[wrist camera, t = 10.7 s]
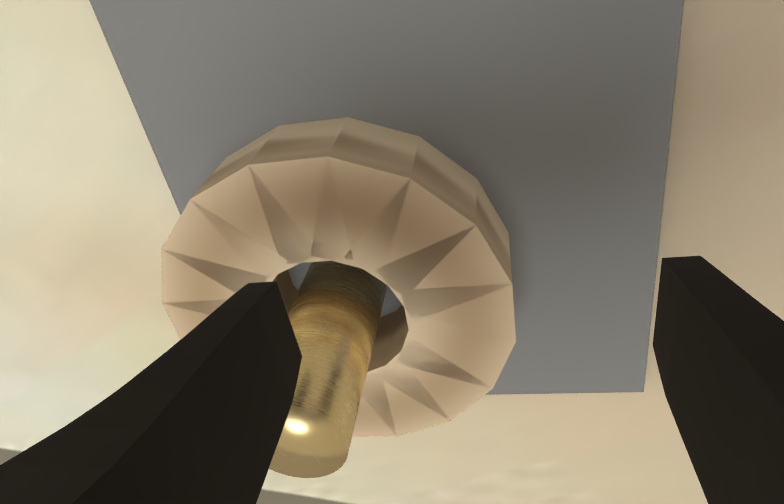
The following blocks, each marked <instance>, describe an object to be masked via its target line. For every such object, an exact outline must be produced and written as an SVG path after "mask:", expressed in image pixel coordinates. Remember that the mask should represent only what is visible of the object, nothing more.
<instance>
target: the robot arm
mask: <svg viewBox="0 0 784 504" xmlns="http://www.w3.org/2000/svg"><path fill="white" fill-rule="evenodd" d="M653 348H654V352H655V356H656V360H657V365H658V369H659V373H660V377H661V380H662V384H663V388H664V392H665V396H666V398H667V401H668V403H669V406H670V409H671V411H672V414H673V416H674V419H675V421H676V424H677V426H678V429H679V432H680V434H681V437H682V439H683V442H684V444H685V447H686V449H687V452H688V454H689V457H690V459H691V462H692V464H693V467H694V469H695V472H696V474H697V477H698V479H699V482H700V484H701V487H702V489H703V492H704V494H705V497H706V499H707V502H708V504H784V321H783V320H782V319H780V318H779V317H778V316H776V315H775V314H774V313H772V312H771V311H770V310H769V309H767V308H766V307H765V306H763V305H762V304H761V303H759V302H758V301H757V300H756V299H754V298H753V297H752V296H751V295H749V294H748V293H747V292H745V291H744V290H743V289H742V288H740V287H739V286H738V285H737V284H735V283H734V282H733V281H732V280H730V279H729V278H728V277H727V276H725V275H724V274H723V273H722V272H720V271H719V270H718V269H717V268H715V267H714V266H713V265H712V264H710V263H709V262H708V261H706V260H705V259H704V258H702V257H701V256H689V257H672V258H662V264H661V274H660V283H659V292H658V301H657V311H656V320H655V329H654V338H653ZM301 360H302V354H301V351H300V348H299V346H298V343H297V340H296V337H295V334H294V331H293V328H292V325H291V322H290V319H289V317H288V314H287V311H286V308H285V305H284V302H283V299H282V296H281V293H280V290H279V288H278V285H277V282H276V281H273V282H257V283H248V284H246V285H245V286H244V287H242V288H241V289H240V290H238V291H237V292H236V293H235V294H233V295H232V296H231V297H230V298H229V299H227V300H226V301H225V302H224V303H223V304H222V305H220V306H219V307H218V308H217V309H216V310H215V311H213V312H212V313H211V314H210V315H209V316H208V317H207V318H205V319H204V320H203V321H202V322H201V323H200V324H198V325H197V326H196V327H195V328H194V329H193V330H191V331H190V332H189V333H188V334H187V335H186V336H184V337H183V338H182V339H181V340H180V341H179V342H177V343H176V344H175V345H174V346H173V347H172V348H170V349H169V350H168V351H167V352H165V353H164V354H163V355H162V356H160V357H159V358H158V359H157V360H155V361H154V362H153V363H152V364H150V365H149V366H148V367H147V368H145V369H144V370H143V371H142V372H140V373H139V374H138V375H137V376H135V377H134V378H133V379H132V380H130V381H129V382H128V383H127V384H125V385H124V386H122V387H121V388H120V389H118V390H117V391H116V392H114V393H113V394H112V395H110V396H109V397H107V398H106V399H105V400H103V401H102V402H100V403H99V404H98V405H96V406H95V407H93V408H92V409H90V410H89V411H87V412H86V413H84V414H83V415H81V416H80V417H78V418H77V419H75V420H74V421H72V422H71V423H69V424H68V425H66V426H65V427H63V428H62V429H60V430H58V431H57V432H55V433H53V434H52V435H50V436H48V437H47V438H45V439H43V440H42V441H40V442H38V443H37V444H35V445H33V446H32V447H30V448H28V449H27V450H25V451H23V452H22V453H20V454H18V455H17V456H15V457H13V458H12V459H10V460H8V461H7V462H5V463H3V464H2V465H0V504H256V502H257V499H258V497H259V494H260V491H261V488H262V486H263V483H264V480H265V477H266V475H267V472H268V469H269V466H270V464H271V461H272V458H273V455H274V453H275V450H276V447H277V444H278V442H279V439H280V436H281V433H282V431H283V428H284V425H285V422H286V419H287V416H288V414H289V411H290V408H291V405H292V402H293V398H294V393H295V389H296V385H297V380H298V375H299V370H300V365H301Z"/></svg>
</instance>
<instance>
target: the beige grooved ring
mask: <svg viewBox="0 0 784 504" xmlns="http://www.w3.org/2000/svg"><path fill="white" fill-rule="evenodd" d="M319 261H335V262H339V263H343V264H346V265H350V266H354V267H358V268H362V269H364V270H365V271H367V272H368V273H370V274H371V275H373V276H374V277H376V278H378V279H379V280H381V281H382V282H384V283H385V284H387V285H388V286H389V287H390V289H391V290H392V291H393V293H394V294H395V295H396V297H397V298H398V299H399V301H400V302H401V303H402V305H401V306H400V307H399V308H398V309H397V310H396V311H395V312H392V313H390V314H387V315H385V316H382V317H380V320H379V324H378V328H377V332H376V337H375V341H374V345H373V349H372V354H371V358H370V362H369V366H368V370H367V375H366V379H365V383H364V387H363V392H362V396H361V400H360V404H359V409H358V413H357V417H356V421H355V425H354V430H353V434H352V437H398V436H401V435H405V434H408V433H411V432H415V431H418V430H421V429H425V428H428V427H431V426H435V425H438V424H441V423H445V422H448V421H451V420H452V419H454V418H455V417H456V416H457V415H459V414H460V413H461V412H463V411H464V410H465V409H467V408H468V407H469V406H471V405H472V404H473V403H475V402H476V401H477V400H479V399H480V398H481V397H482V396H484V395H485V394H486V393H488V392H489V391H490V390H492V389H493V387H494V385H495V383H496V381H497V379H498V377H499V375H500V373H501V371H502V369H503V367H504V365H505V363H506V361H507V359H508V357H509V355H510V353H511V351H512V349H513V347H514V345H515V343H516V333H515V318H514V303H513V288H512V272H511V259H510V245H509V232H508V231H507V229H506V227H505V225H504V224H503V222H502V220H501V219H500V217H499V215H498V214H497V212H496V210H495V208H494V207H493V205H492V203H491V202H490V200H489V198H488V196H487V195H486V193H485V191H484V190H483V188H482V186H481V185H480V183H479V181H478V179H477V178H476V177H474V176H473V175H472V174H470V173H469V172H467V171H466V170H465V169H463V168H462V167H461V166H459V165H458V164H457V163H455V162H454V161H453V160H451V159H450V158H448V157H447V156H446V155H444V154H443V153H442V152H440V151H439V150H438V149H436V148H435V147H433V146H432V145H431V144H429V143H428V142H427V141H425V140H424V139H423V138H421V137H420V136H416V135H413V134H409V133H405V132H401V131H398V130H394V129H390V128H387V127H383V126H379V125H375V124H372V123H368V122H364V121H360V120H357V119H353V118H349V117H346V118H338V119H329V120H321V121H312V122H304V123H295V124H287V125H279V126H277V127H275V128H274V129H272V130H270V131H269V132H267V133H266V134H264V135H262V136H261V137H259V138H257V139H256V140H254V141H252V142H251V143H249V144H248V145H246V146H244V147H243V148H241V149H239V150H238V151H236V152H234V153H233V154H231V155H229V156H228V157H226V158H225V159H224V161H223V162H222V163H221V164H220V165H219V166H218V168H217V169H216V170H215V171H214V172H213V173H212V174H211V176H210V177H209V178H208V179H207V180H206V181H205V183H204V184H203V185H202V186H201V187H200V188H199V189H198V191H197V192H196V193H195V194H194V195H193V196H192V197H191V199H190V200H189V202H188V204H187V206H186V207H185V209H184V211H183V213H182V214H181V216H180V218H179V220H178V221H177V223H176V225H175V227H174V228H173V230H172V232H171V233H170V235H169V237H168V239H167V240H166V242H165V244H164V246H163V247H162V303H163V305H164V307H165V309H166V311H167V313H168V315H169V317H170V320H171V322H172V324H173V326H174V328H175V330H176V332H177V334H178V336H179V338H180V340H181V339H182V338H183V337H184V336H186V335H187V334H188V333H189V332H190V331H191V330H193V329H194V328H195V327H196V326H197V325H198V324H200V323H201V322H202V321H203V320H204V319H205V318H207V317H208V316H209V315H210V314H211V313H212V312H213V311H215V310H216V309H217V308H218V307H219V306H220V305H222V304H223V303H224V302H225V301H226V300H227V299H229V298H230V297H231V296H232V295H233V294H235V293H236V292H237V291H238V290H240V289H241V288H242V287H244V286H245V285H246V284H248V283H257V282H273V281H276V282H277V285H278V288H279V290H280V293H281V296H282V299H283V302H284V305H285V308H286V311H287V314H288V313H289V311H290V309H291V307H292V304H293V302H294V300H295V298H296V295H297V293H298V290H297V289H296V288H295V286H294V285H293V284H292V281H291V278H290V275H289V271H288V269H290V268H292V267H294V266H296V265H298V264H300V263H304V262H319Z"/></svg>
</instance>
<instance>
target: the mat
mask: <svg viewBox="0 0 784 504" xmlns="http://www.w3.org/2000/svg"><path fill="white" fill-rule="evenodd" d="M89 1H90V3H91V5H92V8H93V10H94V12H95V15H96V17H97V19H98V22H99V24H100V26H101V29H102V31H103V34H104V36H105V38H106V41H107V43H108V45H109V48H110V50H111V52H112V55H113V57H114V59H115V62H116V64H117V66H118V69H119V71H120V74H121V76H122V78H123V81H124V83H125V85H126V88H127V90H128V92H129V95H130V97H131V99H132V102H133V104H134V107H135V109H136V111H137V114H138V116H139V118H140V121H141V123H142V125H143V128H144V130H145V132H146V135H147V137H148V139H149V142H150V144H151V147H152V149H153V151H154V154H155V156H156V158H157V161H158V163H159V165H160V168H161V170H162V172H163V175H164V177H165V180H166V182H167V184H168V187H169V189H170V191H171V194H172V196H173V198H174V201H175V203H176V205H177V208H178V210H179V212H180V215H181V214H182V213H183V211H184V209H185V207H186V206H187V204H188V202H189V200H190V199H191V197H192V196H193V195H194V194H195V193H196V192H197V191H198V189H199V188H200V187H201V186H202V185H203V184H204V183H205V181H206V180H207V179H208V178H209V177H210V176H211V174H212V173H213V172H214V171H215V170H216V169H217V168H218V166H219V165H220V164H221V163H222V162H223V161H224V159H225V158H226V157H228V156H229V155H231V154H233V153H234V152H236V151H238V150H239V149H241V148H243V147H244V146H246V145H248V144H249V143H251V142H252V141H254V140H256V139H257V138H259V137H261V136H262V135H264V134H266V133H267V132H269V131H270V130H272V129H274V128H275V127H277V126H279V125H287V124H295V123H304V122H312V121H321V120H329V119H338V118H346V117H349V118H353V119H357V120H360V121H364V122H368V123H372V124H375V125H379V126H383V127H387V128H390V129H394V130H398V131H401V132H405V133H409V134H413V135H416V136H420V137H421V138H423V139H424V140H425V141H427V142H428V143H429V144H431V145H432V146H433V147H435V148H436V149H438V150H439V151H440V152H442V153H443V154H444V155H446V156H447V157H448V158H450V159H451V160H453V161H454V162H455V163H457V164H458V165H459V166H461V167H462V168H463V169H465V170H466V171H467V172H469V173H470V174H472V175H473V176H474V177H476V178H477V179H478V181H479V183H480V185H481V186H482V188H483V190H484V191H485V193H486V195H487V196H488V198H489V200H490V202H491V203H492V205H493V207H494V208H495V210H496V212H497V214H498V215H499V217H500V219H501V220H502V222H503V224H504V225H505V227H506V229H507V231H508V232H509V245H510V259H511V272H512V288H513V303H514V318H515V333H516V343H515V345H514V347H513V349H512V351H511V353H510V355H509V357H508V359H507V361H506V363H505V365H504V367H503V369H502V371H501V373H500V375H499V377H498V379H497V381H496V383H495V385H494V387H493V389H492V390H490V391H489V392H488V393H486V394H485V395H488V394H549V393H609V392H644V384H645V375H646V365H647V355H648V345H649V336H650V326H651V316H652V306H653V297H654V287H655V277H656V268H657V258H658V248H659V238H660V229H661V219H662V209H663V199H664V190H665V180H666V170H667V161H668V151H669V141H670V131H671V122H672V112H673V102H674V92H675V83H676V73H677V63H678V54H679V44H680V34H681V24H682V15H683V5H684V0H89ZM310 264H311V262H304V263H300V264H298V265H296V266H294V267H292V268H290V269H288V271H289V275H290V278H291V281H292V284H293V285H294V286H295V288H296V289H297V290H298V291H299V289H300V286H301V284H302V282H303V280H304V277H305V275H306V273H307V270H308V268H309V266H310ZM401 305H402V303H401V302H400V301H399V299H398V298H397V297H396V295H395V294H394V293H393V291H392V290H391V289H390V287H389V286H387V290H386V294H385V299H384V303H383V307H382V311H381V315H380V317H382V316H385V315H387V314H390V313H392V312H395V311H396V310H397V309H398V308H399V307H400V306H401Z"/></svg>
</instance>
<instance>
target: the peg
mask: <svg viewBox="0 0 784 504" xmlns="http://www.w3.org/2000/svg"><path fill="white" fill-rule="evenodd" d="M387 286H388V285H387V284H385V283H384V282H382V281H381V280H379V279H378V278H376V277H374V276H373V275H371V274H370V273H368V272H367V271H365V270H364V269H362V268H358V267H354V266H350V265H346V264H343V263H339V262H335V261H319V262H311V264H310V266H309V268H308V270H307V273H306V275H305V277H304V280H303V282H302V284H301V286H300V289H299V291H298V293H297V295H296V298H295V300H294V302H293V304H292V307H291V309H290V311H289V313H288V317H289V319H290V322H291V325H292V328H293V331H294V334H295V337H296V340H297V343H298V346H299V348H300V351H301V354H302V360H301V365H300V370H299V375H298V380H297V385H296V389H295V393H294V398H293V402H292V405H291V408H290V411H289V414H288V416H287V419H286V422H285V425H284V428H283V431H282V433H281V436H280V439H279V442H278V444H277V447H276V450H275V453H274V455H273V458H272V461H271V464H270V466H269V469H271V470H273V471H276V472H278V473H281V474H285V475H288V476H293V477H300V478H315V477H322V476H326V475H329V474H331V473H333V472H335V471H337V470H338V469H339V468H340V467H341V466H342V465H343V464H344V463H345V461H346V459H347V455H348V451H349V447H350V442H351V438H352V434H353V430H354V425H355V421H356V417H357V413H358V409H359V404H360V400H361V396H362V392H363V387H364V383H365V379H366V375H367V370H368V366H369V362H370V358H371V354H372V349H373V345H374V341H375V337H376V332H377V328H378V324H379V320H380V315H381V311H382V307H383V303H384V299H385V294H386V290H387Z"/></svg>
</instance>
